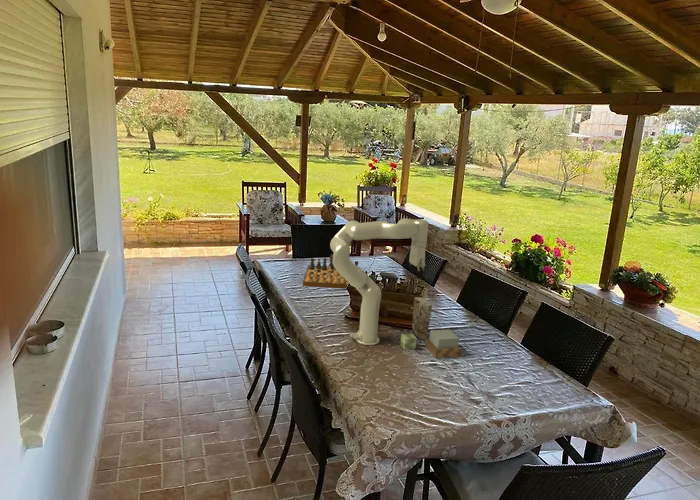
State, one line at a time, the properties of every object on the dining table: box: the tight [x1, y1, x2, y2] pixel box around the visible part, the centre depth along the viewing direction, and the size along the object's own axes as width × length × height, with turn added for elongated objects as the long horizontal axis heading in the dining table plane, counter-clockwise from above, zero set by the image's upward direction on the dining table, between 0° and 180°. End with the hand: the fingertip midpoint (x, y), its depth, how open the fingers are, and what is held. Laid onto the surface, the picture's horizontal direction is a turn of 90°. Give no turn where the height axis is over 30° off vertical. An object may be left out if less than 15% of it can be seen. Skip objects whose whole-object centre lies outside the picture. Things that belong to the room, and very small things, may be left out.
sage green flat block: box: [429, 329, 460, 349], centre depth 267 cm, size 11×11×5 cm
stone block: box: [411, 296, 433, 340], centre depth 286 cm, size 13×7×20 cm, turn 18°
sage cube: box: [400, 333, 417, 350], centre depth 271 cm, size 6×6×6 cm
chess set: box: [302, 253, 359, 290], centre depth 374 cm, size 40×40×15 cm
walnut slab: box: [424, 337, 463, 360], centre depth 268 cm, size 14×14×5 cm
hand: (416, 275), depth 273 cm, fingers open, 9 cm apart
